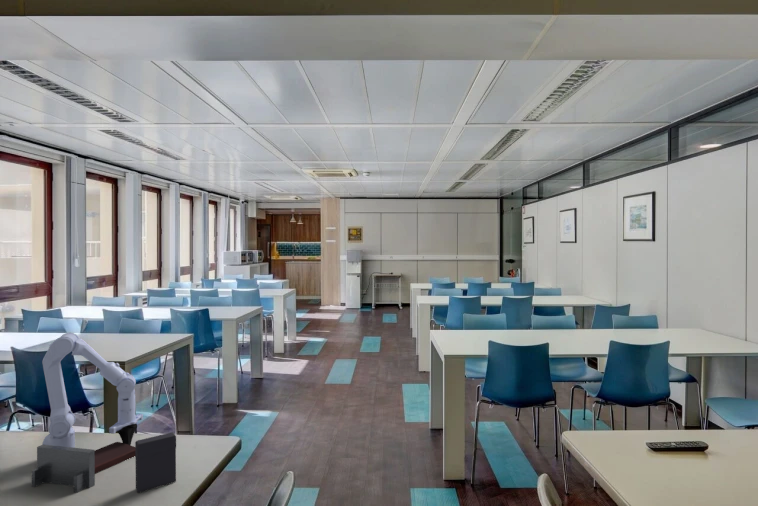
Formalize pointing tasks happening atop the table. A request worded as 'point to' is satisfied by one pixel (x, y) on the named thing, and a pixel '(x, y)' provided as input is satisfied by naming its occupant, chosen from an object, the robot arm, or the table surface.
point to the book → (112, 455)
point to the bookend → (64, 467)
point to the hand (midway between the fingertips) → (127, 445)
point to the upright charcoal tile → (155, 461)
